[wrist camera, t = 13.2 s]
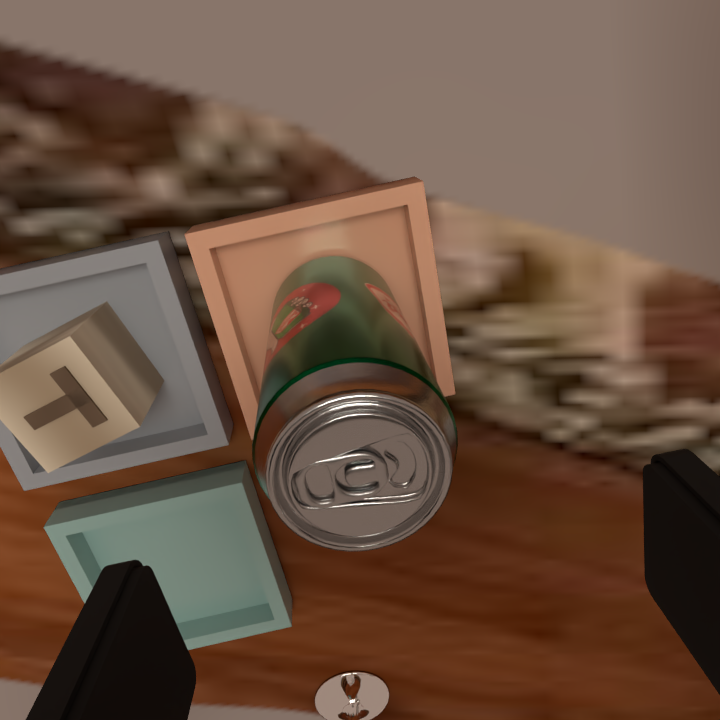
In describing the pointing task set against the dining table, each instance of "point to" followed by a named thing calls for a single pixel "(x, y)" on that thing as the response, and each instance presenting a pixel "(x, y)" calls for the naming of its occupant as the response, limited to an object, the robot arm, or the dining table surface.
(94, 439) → the letter cube
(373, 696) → the wineglass
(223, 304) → the tray terracotta
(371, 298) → the soda can
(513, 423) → the dining table surface
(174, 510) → the tray teal
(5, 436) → the tray slate
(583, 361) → the dining table surface
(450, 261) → the dining table surface
